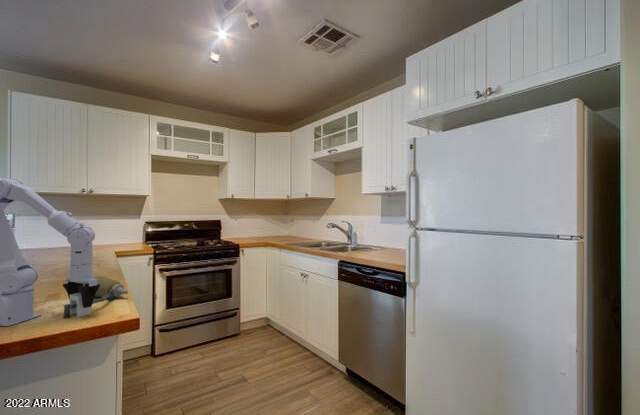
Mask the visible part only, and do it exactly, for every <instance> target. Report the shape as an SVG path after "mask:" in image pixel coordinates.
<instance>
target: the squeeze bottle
mask: <svg viewBox="0 0 640 415" xmlns="http://www.w3.org/2000/svg"><path fill="white" fill-rule="evenodd" d="M95 279H97V284H99V285H100V287H99V289H98V290H97V292H96V294H95V297H94V298H101V297H103V296H104V295H105V294H107V293H108V292H109V290H111V289H113V298H116V297H121V296H122V295H127V294H128V293H129V291H128V290H127V289H125V286H124V285H123V284H121V283H120V282H119V281H118V280H114V279H112V278H109V277H106V276H102V275H98V276H97V275H96V278H95ZM83 286H85V284H83ZM107 299H109V297H108V298H107Z"/></svg>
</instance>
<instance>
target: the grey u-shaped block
mask: <svg viewBox="0 0 640 415" xmlns="http://www.w3.org/2000/svg"><path fill="white" fill-rule="evenodd" d="M69 304H70V305H74V304H77V308H73V309H70V315H71V316H72V315H76V318H80V317H84V316H87V315H92V314H91V313H93V305H92V306H91V307H87V308H83V305H82V297H81V294H80V293H75V294H70V300H69Z"/></svg>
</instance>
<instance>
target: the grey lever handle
mask: <svg viewBox="0 0 640 415" xmlns="http://www.w3.org/2000/svg"><path fill="white" fill-rule="evenodd" d="M108 297H109V298H108ZM106 299H107V302H114V297H113V289H111V290H109V292H108V293H107V294H105V295H104V296H103V297H98V298H96V299H95V298H94V300H93V303H92V305H93V304H98V303H103V302H104V301H105V300H106ZM73 308H77V304H74V305H70V303H69V304H67V303H66V304H64V305H63V316H62V318H63V319H70V318H71V316H72V315H70V309H73Z"/></svg>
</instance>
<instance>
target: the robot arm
mask: <svg viewBox="0 0 640 415" xmlns="http://www.w3.org/2000/svg"><path fill="white" fill-rule="evenodd" d="M15 201H19V202H23V203H25V204H26V205H27V206H28V207H31V208H32V209H34V210H35V211H37V212H38V213H39V214H41V215H42V216H43V217H44V218H45V217H46V218H47V224H48V225H49V226H51V227H52V228H53V229H54V230H56V231H57V232H58V233H60V234H61V235H63V236H64V238H65V237H66V240H67V242H68V243H69V244H70V264H69V265H70V266H69V267H70V268H69V270H70V271H69V273H70V274H69V275H65V276H66V279H65V281H66V283H63V284H62V287H63V288H64V290H65V292H66V293H67V296H68V301H70V294H75V293H80V294H81V297H82V305H83V308H87V307H91V306H92V307H93V304H92V303H93V300H95V298H96V297H95V294H96V292H97V290H98V289H99V287H100V285H99V284H97V279H95V278H96V277H97V275H95V274H93V256H94V255H93V251H94V250H93V241H94V240H95V238H96V232H95V231H94V230H93V229H92V228H91V227H89V226H85V223H83V222H80V221H78V220H77V219H76V218H75V217H73V213H71V212H67V211H65V210H57V209H56V208H55V207H53V206H52V205H51V204H50V203H48V201H46V200H45V199H44V198H43V197H41V196H40V195H39V194H38V193H37V192H36V191H34V190H33V189H32V188H31V187H30V186H28V185H26V184H24V182H23V181H21V180H19V179H15V178H14V179H13V178H4V177H0V327H9V326H12V325H13V326H14V325H17V324H20V323H23V322H24V321H28V320H31V319H34V318H37V317H40V316H42V314H41V313H34V308H35V307H34V305H35V301H34V300H35V299H34V298H35V297H34V296H35V287H34V284H35V283H36V282H37V280H38V278H39V272H38V271H37V270H36V269H35V268H34V267H33V266H32V264H31V263H30V261H28V259H26V258H24V257H23V254H22V252H21V249H20V247H19V245H18V242H17V240H16V237H15V235H14V232H13V230H12V227H11V225H10V222H9V220H8V218H7V215H6V212H5V210H6V209H7V207H9V205H11V204H12V203H13V202H15ZM84 284H85V286H83V285H84Z"/></svg>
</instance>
